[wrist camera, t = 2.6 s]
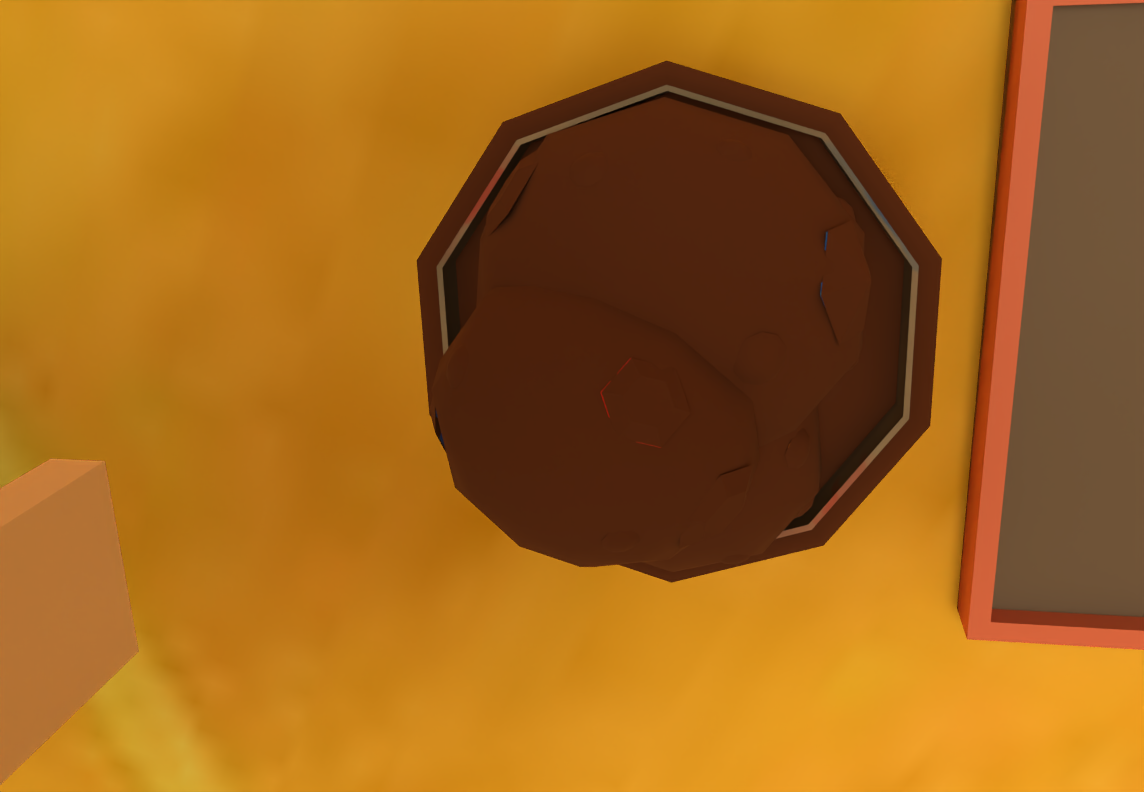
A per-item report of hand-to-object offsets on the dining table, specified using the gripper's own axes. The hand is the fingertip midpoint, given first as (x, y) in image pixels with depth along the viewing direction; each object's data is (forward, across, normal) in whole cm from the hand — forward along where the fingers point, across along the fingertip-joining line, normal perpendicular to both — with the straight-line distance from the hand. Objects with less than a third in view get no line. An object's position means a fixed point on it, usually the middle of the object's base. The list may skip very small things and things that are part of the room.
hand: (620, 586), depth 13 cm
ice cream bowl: (+20, 0, 0) cm, 20 cm away
